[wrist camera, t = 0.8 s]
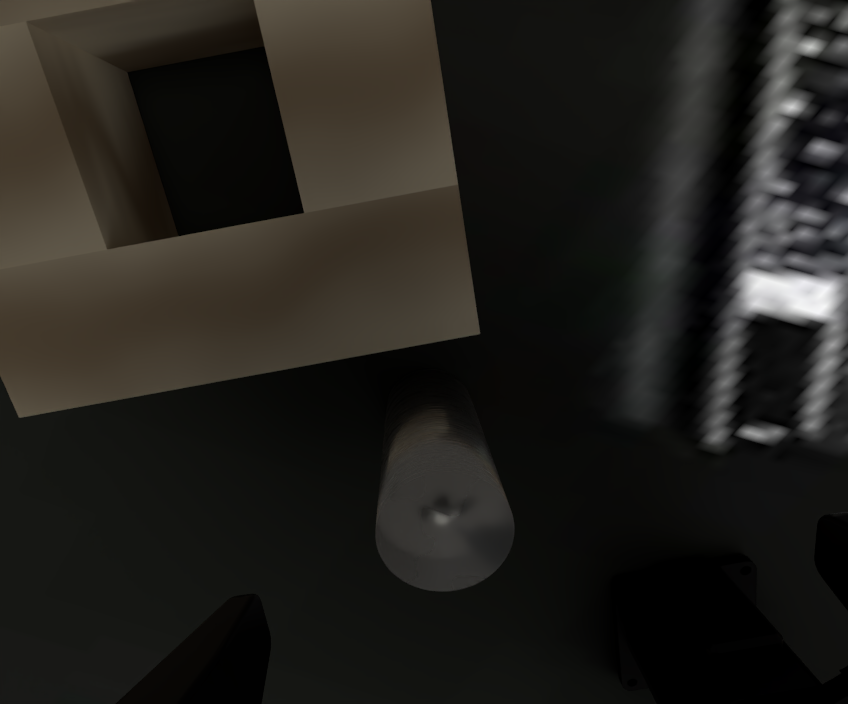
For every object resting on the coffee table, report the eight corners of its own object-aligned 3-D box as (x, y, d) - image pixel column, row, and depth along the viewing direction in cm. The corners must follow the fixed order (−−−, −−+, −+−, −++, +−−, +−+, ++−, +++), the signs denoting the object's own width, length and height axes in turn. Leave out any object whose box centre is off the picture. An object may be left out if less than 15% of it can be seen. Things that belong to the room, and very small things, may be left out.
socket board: (462, 305, 19) (480, 334, 14) (107, 370, 19) (19, 417, 15) (392, -142, 15) (387, -288, 10) (-56, -56, 15) (-243, -163, 11)
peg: (477, 439, 20) (522, 578, 13) (395, 454, 20) (390, 601, 13) (464, 361, 19) (505, 460, 12) (378, 377, 19) (362, 485, 12)
